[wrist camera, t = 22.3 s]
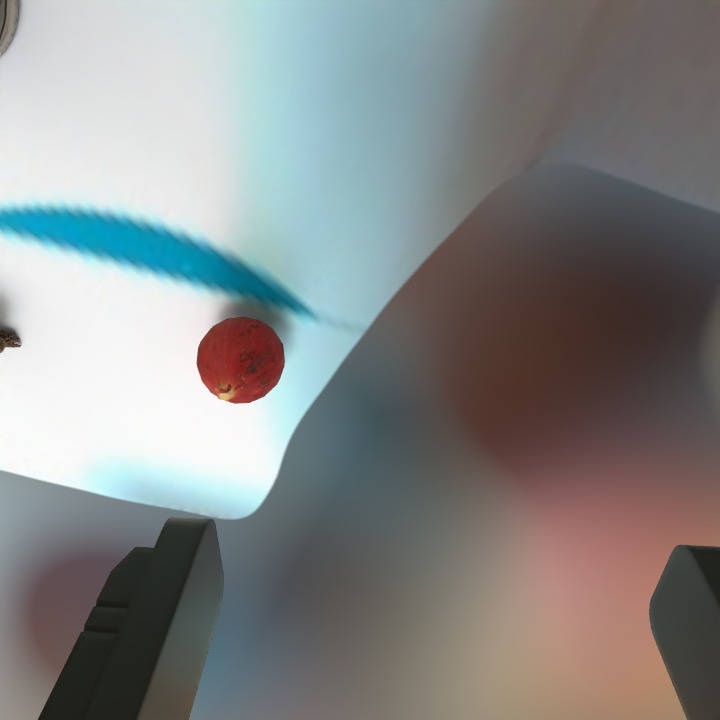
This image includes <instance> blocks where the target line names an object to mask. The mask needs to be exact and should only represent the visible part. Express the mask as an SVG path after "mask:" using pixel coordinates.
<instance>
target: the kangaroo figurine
mask: <svg viewBox="0 0 720 720" xmlns="http://www.w3.org/2000/svg"><path fill="white" fill-rule="evenodd" d="M13 336H15V334H8V335H6V334H5V333H4V332H3V331H0V353H1V352H3V350H4V348H5V347H13V348H14V347H20V346H21V345H18V344H15V342H18V341H20V339H14V338H12V337H13Z"/></svg>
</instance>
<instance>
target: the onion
mask: <svg viewBox="0 0 720 720" xmlns="http://www.w3.org/2000/svg"><path fill="white" fill-rule="evenodd" d="M284 363H285V357H284V348H283V343H282V342H281V340H280V339H279V337H278V336H277V334H276V333H275V331H274V330H273V329H272V328H271V327H269V326H268V325H266V324H264V323H263V322H261V321H260V320H255V319H250V318H244V317H240V318H231V319H226V320H224V321H222V322H220V323H218V324H216V325H214V326H213V327H212V328H211V329H210V330H209V332H208V333H207V334H206V335H205V337H204V338H203V339H202V341H201V342H200V345H199V347H198V354H197V368H198V371H199V374H200V377H201V380H202V381H203V383H204V384H205V386H206V387H207V388H208V389H209V391H210V392H211V393H213V394H214V395H216V396H217V397H218V398H219V399H222V400H225V401H228V402H231V403H250V402H252V401H255V400H257V399H260V398H262V397H264V396H265V395H266V394H267V393H268V392H269V391H270V390H272V389H273V388H274V387H275V386H276V385H277V383H278V381H279V380H280V377H281V374H282V371H283V368H284Z"/></svg>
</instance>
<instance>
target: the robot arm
mask: <svg viewBox="0 0 720 720" xmlns="http://www.w3.org/2000/svg"><path fill="white" fill-rule="evenodd" d="M18 13H19V0H0V55H1V54H2V53H3V52H4V51H5V50H6V48H7V47H8V45H9V44H10V42H11V40H12V38H13V35H14V32H15V29H16V25H17V21H18ZM223 587H224V576H223V568H222V562H221V556H220V549H219V543H218V538H217V531H216V525H215V522H214V520H212V519H200V518H182V517H170V518H169V519H168V520H167V521H166V523H165V525H164V527H163V529H162V531H161V534H160V536H159V538H158V540H157V543H156V545H155V547H154V548H147V547H135V548H134V549H133V550H132V551H131V552H130V553H129V554H128V555H127V556H126V557H125V558H124V559H123V560H122V561H121V562H120V563H119V564H118V565H117V566H116V567H115V568H114V569H113V570H112V571H111V573H110V575H109V577H108V579H107V581H106V583H105V585H104V587H103V589H102V591H101V593H100V595H99V597H98V599H97V604H96V606H95V607H93V609H92V611H91V613H90V615H89V617H88V619H87V621H86V623H85V628H84V631H83V632H81V633H80V635H79V637H78V639H77V642H76V643H75V646H74V648H73V650H72V652H71V654H70V656H69V658H68V660H67V662H66V664H65V666H64V668H63V670H62V672H61V674H60V676H59V678H58V680H57V682H56V684H55V686H54V688H53V690H52V692H51V694H50V696H49V698H48V700H47V702H46V704H45V706H44V708H43V710H42V712H41V714H40V716H39V718H38V720H189V717H190V713H191V710H192V706H193V703H194V699H195V696H196V692H197V689H198V685H199V681H200V678H201V674H202V671H203V667H204V664H205V661H206V657H207V654H208V650H209V647H210V643H211V640H212V636H213V632H214V629H215V625H216V622H217V618H218V615H219V611H220V607H221V603H222V596H223ZM649 615H650V624H651V629H652V633H653V636H654V639H655V641H656V644H657V646H658V649H659V651H660V654H661V656H662V659H663V661H664V663H665V666H666V668H667V671H668V673H669V676H670V678H671V681H672V683H673V686H674V688H675V690H676V693H677V696H678V698H679V700H680V703H681V705H682V708H683V711H684V712H685V715H686V718H687V720H720V547H712V546H692V545H691V546H690V545H678V546H676V547H675V548H674V550H673V552H672V554H671V556H670V558H669V560H668V562H667V565H666V567H665V569H664V571H663V573H662V576H661V578H660V580H659V582H658V585H657V587H656V589H655V591H654V593H653V596H652V598H651V602H650V610H649Z"/></svg>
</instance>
